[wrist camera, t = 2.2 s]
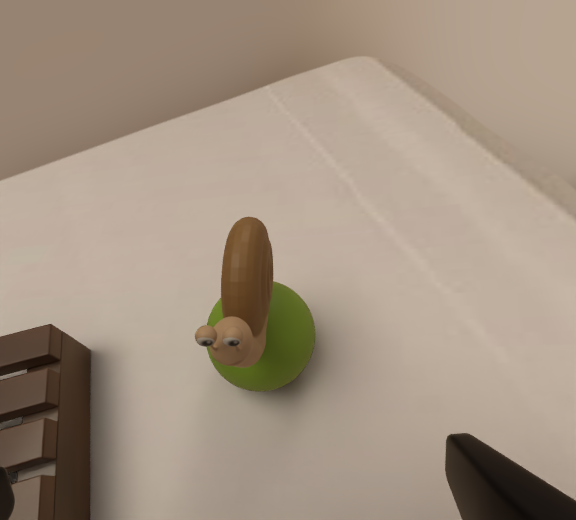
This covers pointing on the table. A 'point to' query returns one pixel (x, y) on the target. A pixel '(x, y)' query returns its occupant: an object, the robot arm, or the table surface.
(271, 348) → the snail figurine
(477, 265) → the table surface
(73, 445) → the rack
